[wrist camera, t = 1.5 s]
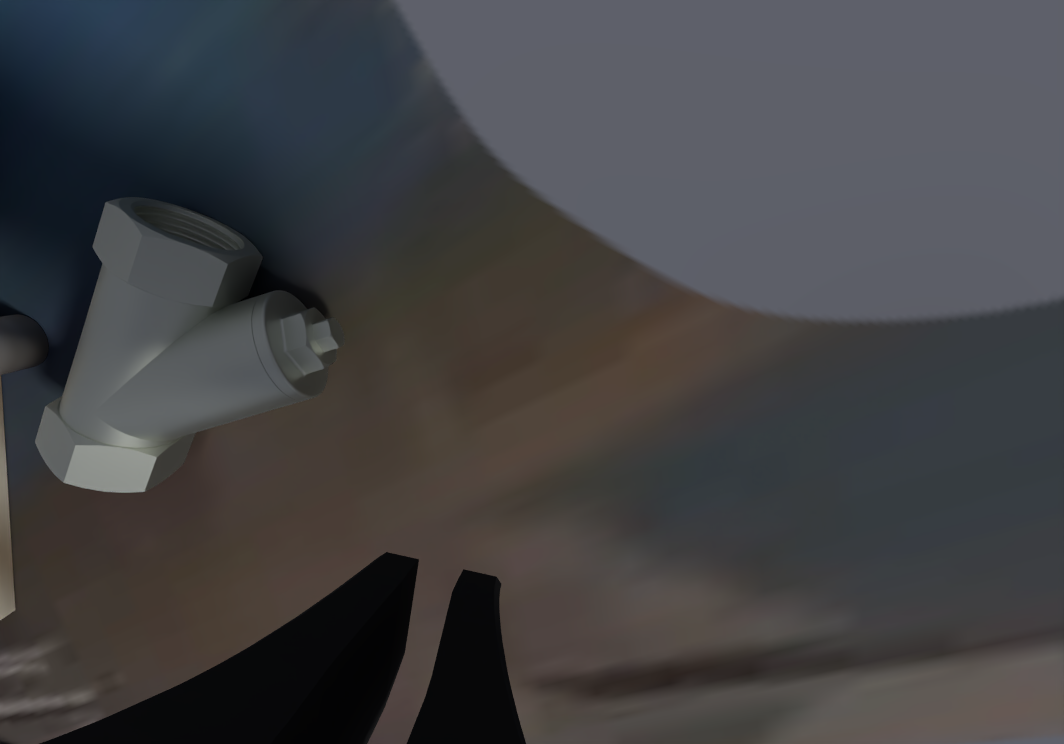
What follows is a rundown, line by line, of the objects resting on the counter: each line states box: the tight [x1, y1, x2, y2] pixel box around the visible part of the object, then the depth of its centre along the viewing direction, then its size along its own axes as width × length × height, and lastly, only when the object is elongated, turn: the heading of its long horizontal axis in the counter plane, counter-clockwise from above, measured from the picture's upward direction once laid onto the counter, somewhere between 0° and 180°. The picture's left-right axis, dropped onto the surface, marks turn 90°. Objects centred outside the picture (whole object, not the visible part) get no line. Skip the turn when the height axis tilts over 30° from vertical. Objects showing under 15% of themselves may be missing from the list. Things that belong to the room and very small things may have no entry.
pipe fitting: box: [35, 197, 345, 493], centre depth 17 cm, size 8×4×7 cm
